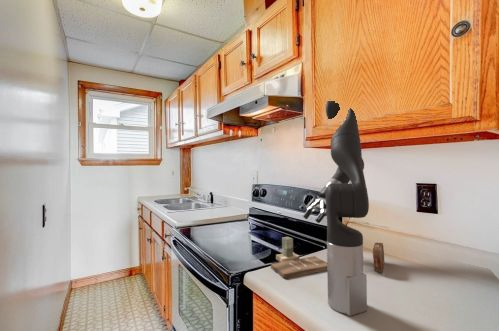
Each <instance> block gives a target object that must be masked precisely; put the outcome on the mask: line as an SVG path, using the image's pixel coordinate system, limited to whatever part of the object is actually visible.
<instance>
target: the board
mask: <svg viewBox="0 0 499 331" xmlns="http://www.w3.org/2000/svg"><path fill="white" fill-rule="evenodd" d="M270 269H271V270H273V271H274V272H275V273H277V274H278V275H279V276H280V277H281V278H283V279H284V280H286V279H290V278H294V277H299V276H305V275H309V274H314V273H319V272H323V271H327V261H325V260H323V259H321V258H319V257H317V256H310V257H309V256H308V257H303V258H299V259H296V260H291V261H285V262H279V261H278V262H275V263H271V264H270Z"/></svg>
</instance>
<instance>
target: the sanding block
mask: <svg viewBox="0 0 499 331" xmlns="http://www.w3.org/2000/svg"><path fill="white" fill-rule="evenodd" d="M296 259H300V255H299V254H297V253H295V252H294V238H292V237H289V236H284V237H283V236H282V237H281V253H280V254H279V253H278V254H275V260H277V261H278V263H279V262H285V261H291V260H296Z"/></svg>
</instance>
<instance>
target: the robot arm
mask: <svg viewBox="0 0 499 331" xmlns="http://www.w3.org/2000/svg"><path fill="white" fill-rule="evenodd" d="M326 102H327V103H325V113H326V118H327V117H328V118H327V120H328V119H332V118H334V117H335V116H336V115H337V113H338V111H339V110H340V107H339V104H338V103H335V101H328V100H327V101H326ZM361 144H362V143H361V137H360V130H359V123H358V124H357V120H356V116H355V113H354V111H353V110H352V109H351V108H350V109H349V110H348V114H347V117H346V120H345V121H343V123H342V124H340V127H339V128H338V129H337V130H336V132H335V133H333V135H332V137H331V140H330V156H331V159H332V160H333V162H334V163H335V164H336V166H337V169H336V171H335V173H334V174H333V176H332V177H331V178H330V179H329V180H328V181H327V182H326V184H325V185H324V186H323V187H322V189H321V190H320V192H319V193H318V198H317V199H316V198H315V197H313V198H312V199H311V200H310V201H309V202H308V203H307V204H306V206H305V208H306V211H305V213H304V214H303V215H302V217H303V218H304V219H305V220H307V219H308V218H309V217H310V216H311V215H312V213H313V212H318V211H320V212H319V213H318V215H317V216H316V217H315V222H316V223H318V224H320V223H321V222H322V221H323V220H324V218H325V217H326V227H327V228H326V233H327V234H326V251H327V252H326V254H327V255H326V260H327V261H326V262H327V270H326V271H327V272H326V273H327V304H328V306H329V307H330V308H331V309H333V310H335V311H336V312H339V313H342V314H345V315H347V316H349V317H351V316H354V315H357V314H361V313H363V312H367V311H368V295H367V294H368V286H367V282H368V280H367V274H366V273H364V236H363V233H362V232H361V231H359V230H358V229H356V228H353V227H350V226H348V225H346V224H344V223H343V222H342V221H340V219H339V218H351V219H352V218H354V219H361V218H365V217H367V215H368V213H369V210H370V202H369V193H368V188H367V184H366V180H365V174H364V170H365V163H364V162H365V161H364V159H363V156H362V145H361ZM350 182H351V183H350Z"/></svg>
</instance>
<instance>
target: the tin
mask: <svg viewBox="0 0 499 331" xmlns="http://www.w3.org/2000/svg"><path fill="white" fill-rule="evenodd" d="M384 250H385V249H384V243H383V242H375V243H374V245H373V247H372V259H373V270H374V272H378V273H384V269H385V252H384Z"/></svg>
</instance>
